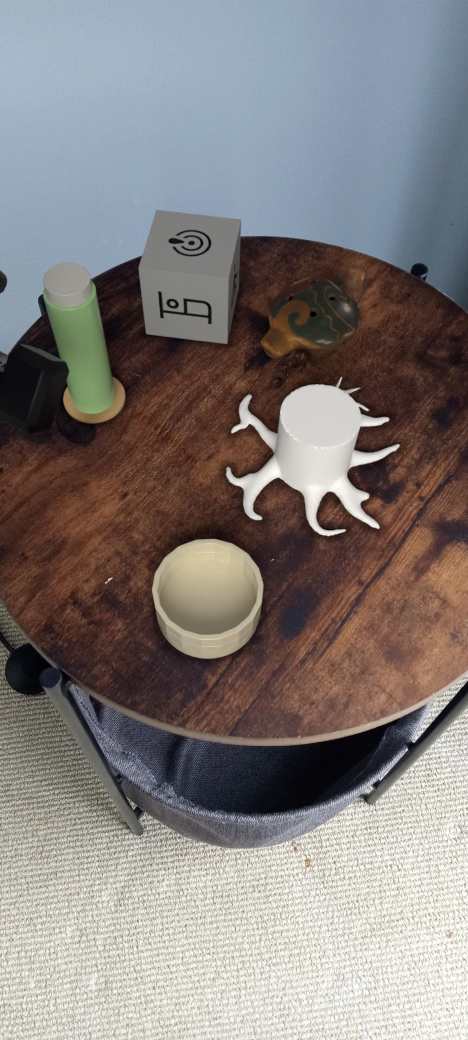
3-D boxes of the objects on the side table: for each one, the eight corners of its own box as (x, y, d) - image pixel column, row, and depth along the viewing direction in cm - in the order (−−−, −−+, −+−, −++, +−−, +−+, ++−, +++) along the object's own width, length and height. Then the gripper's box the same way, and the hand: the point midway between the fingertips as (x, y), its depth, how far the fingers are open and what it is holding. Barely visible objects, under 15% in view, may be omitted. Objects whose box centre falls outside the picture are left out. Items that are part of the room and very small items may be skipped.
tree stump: (423, 429, 81) (443, 381, 74) (361, 567, 72) (377, 527, 65) (263, 367, 85) (267, 316, 78) (185, 490, 76) (182, 445, 69)
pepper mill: (99, 420, 80) (73, 304, 66) (62, 403, 81) (28, 285, 67) (123, 390, 82) (103, 271, 68) (87, 374, 84) (59, 253, 69)
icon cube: (146, 334, 88) (138, 267, 79) (162, 277, 93) (156, 209, 84) (227, 344, 87) (228, 278, 78) (238, 286, 92) (241, 219, 83)
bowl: (167, 669, 66) (164, 651, 62) (148, 573, 71) (143, 550, 67) (271, 646, 68) (275, 626, 63) (245, 553, 73) (247, 529, 68)
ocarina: (382, 327, 89) (396, 279, 82) (298, 397, 84) (304, 354, 77) (324, 283, 92) (332, 234, 85) (240, 350, 87) (241, 304, 80)
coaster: (68, 428, 80) (67, 425, 80) (60, 381, 84) (59, 378, 83) (130, 417, 81) (129, 414, 81) (120, 371, 85) (119, 368, 84)
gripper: (26, 290, 48) (136, 313, 63) (-175, 195, 53) (-29, 237, 67) (-19, 441, 52) (95, 430, 66) (-204, 340, 56) (-59, 350, 71)
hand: (25, 358), depth 67 cm, fingers open, 9 cm apart
